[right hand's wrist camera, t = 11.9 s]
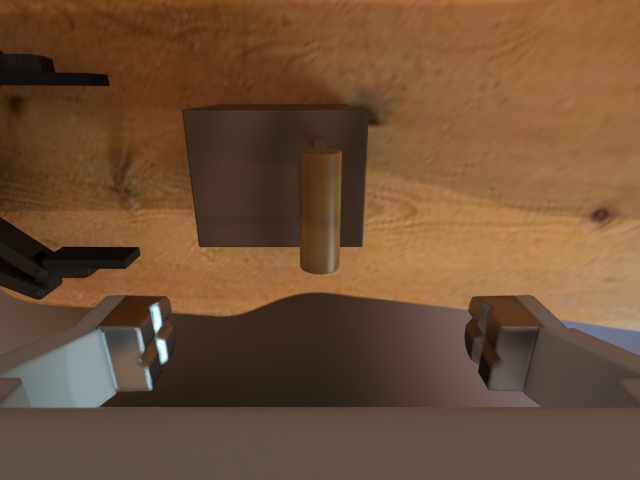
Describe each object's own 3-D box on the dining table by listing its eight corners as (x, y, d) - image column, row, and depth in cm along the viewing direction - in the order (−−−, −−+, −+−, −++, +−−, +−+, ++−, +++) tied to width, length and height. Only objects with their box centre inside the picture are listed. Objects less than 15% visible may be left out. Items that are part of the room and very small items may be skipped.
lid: (366, 108, 25) (390, 117, 17) (361, 242, 28) (378, 301, 20) (186, 108, 25) (123, 116, 17) (203, 242, 28) (156, 302, 20)
